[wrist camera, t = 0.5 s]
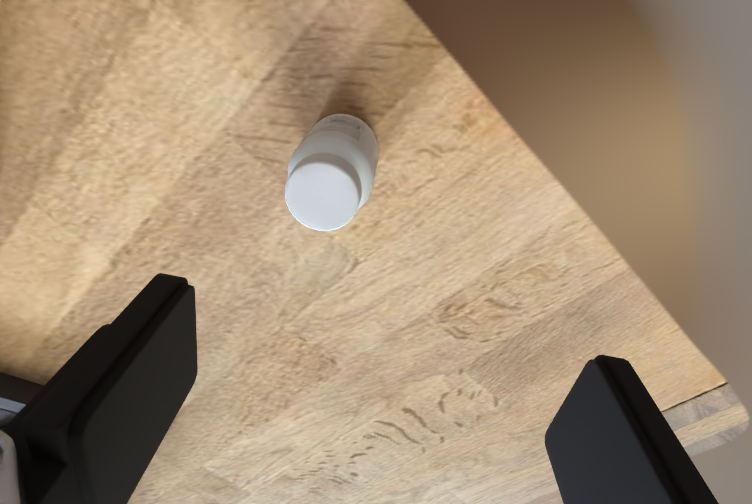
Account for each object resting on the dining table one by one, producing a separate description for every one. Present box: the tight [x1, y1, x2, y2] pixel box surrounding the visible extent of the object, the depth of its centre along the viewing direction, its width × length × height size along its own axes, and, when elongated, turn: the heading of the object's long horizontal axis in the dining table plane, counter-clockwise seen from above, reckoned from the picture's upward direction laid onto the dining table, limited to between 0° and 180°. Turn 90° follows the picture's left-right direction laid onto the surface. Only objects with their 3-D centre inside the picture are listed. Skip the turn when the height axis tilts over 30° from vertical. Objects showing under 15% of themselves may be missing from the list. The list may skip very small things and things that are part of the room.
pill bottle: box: [285, 114, 379, 231], centre depth 23 cm, size 4×4×8 cm
